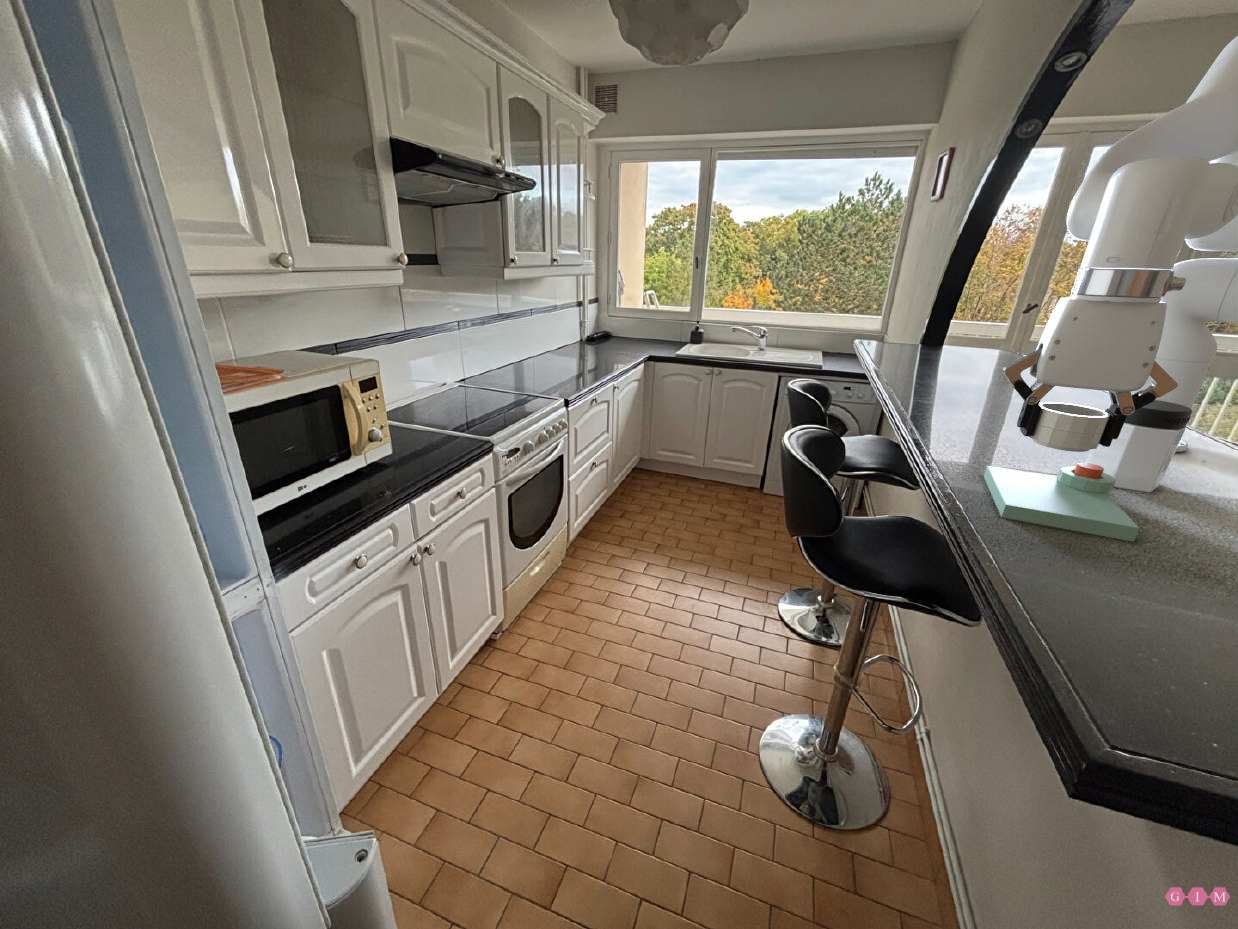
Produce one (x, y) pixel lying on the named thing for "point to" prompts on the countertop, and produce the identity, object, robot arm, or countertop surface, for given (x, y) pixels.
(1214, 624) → the countertop surface
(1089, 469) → the button
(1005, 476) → the scale
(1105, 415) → the bowl
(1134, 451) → the jar
